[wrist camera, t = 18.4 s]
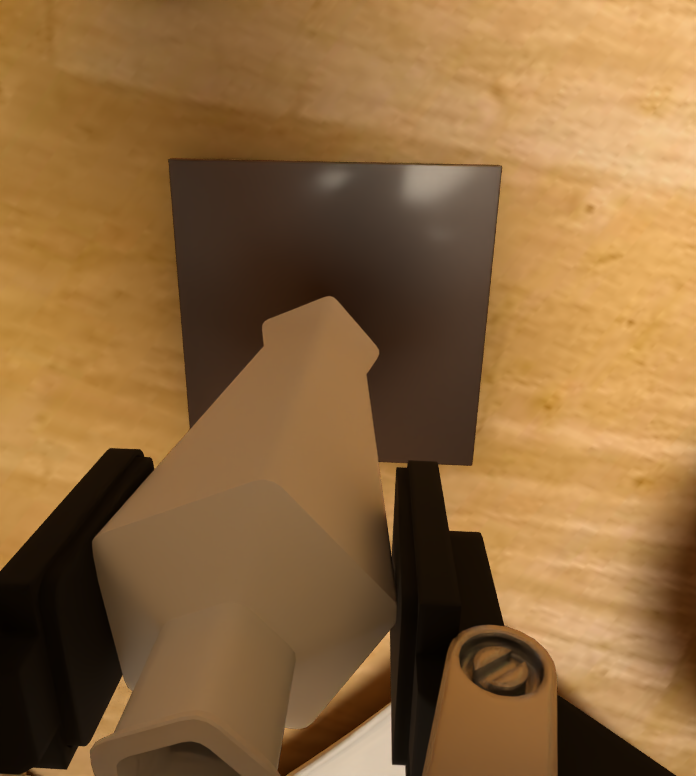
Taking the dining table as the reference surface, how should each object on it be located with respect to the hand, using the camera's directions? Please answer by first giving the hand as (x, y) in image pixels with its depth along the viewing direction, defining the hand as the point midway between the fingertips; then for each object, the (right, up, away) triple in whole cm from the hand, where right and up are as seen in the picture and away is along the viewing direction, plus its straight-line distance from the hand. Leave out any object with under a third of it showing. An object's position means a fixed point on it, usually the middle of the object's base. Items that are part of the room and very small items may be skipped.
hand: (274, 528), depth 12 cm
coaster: (+1, +5, +14) cm, 15 cm away
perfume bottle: (0, +4, +9) cm, 10 cm away
